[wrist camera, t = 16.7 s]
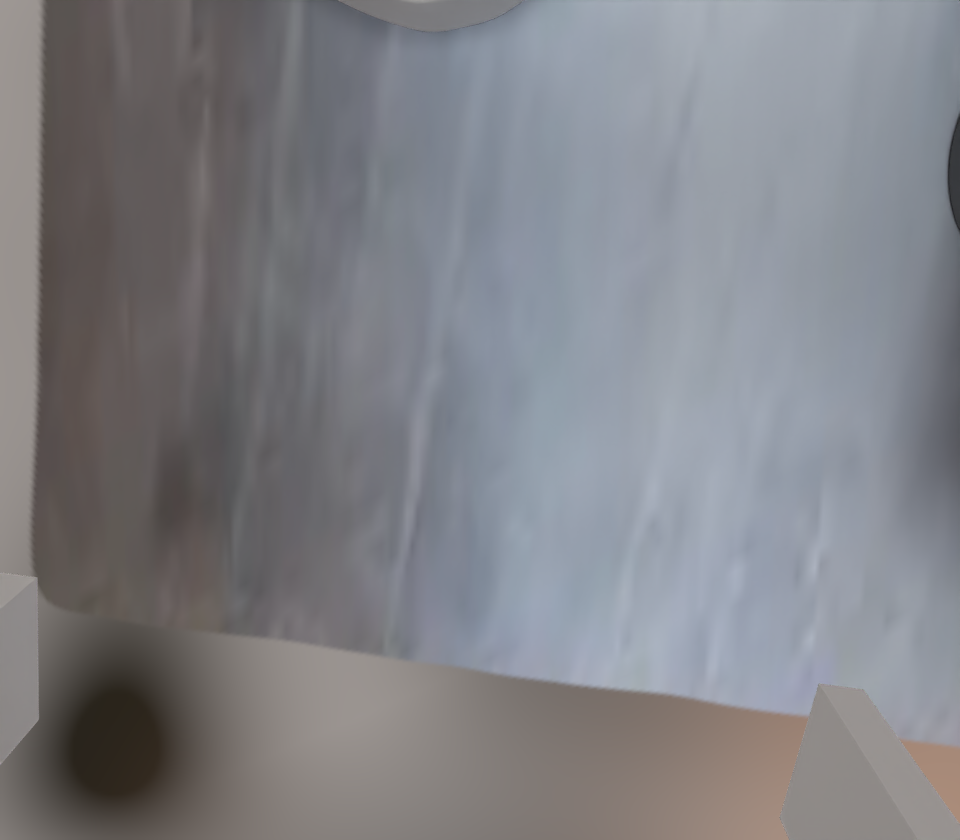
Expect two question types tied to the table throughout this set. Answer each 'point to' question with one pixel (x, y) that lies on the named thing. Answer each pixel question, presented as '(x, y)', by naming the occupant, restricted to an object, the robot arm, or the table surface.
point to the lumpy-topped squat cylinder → (433, 12)
